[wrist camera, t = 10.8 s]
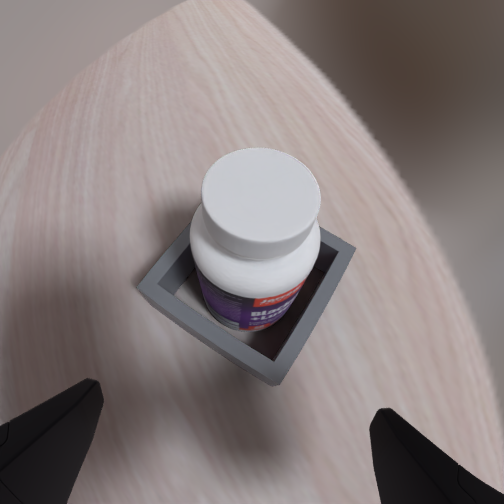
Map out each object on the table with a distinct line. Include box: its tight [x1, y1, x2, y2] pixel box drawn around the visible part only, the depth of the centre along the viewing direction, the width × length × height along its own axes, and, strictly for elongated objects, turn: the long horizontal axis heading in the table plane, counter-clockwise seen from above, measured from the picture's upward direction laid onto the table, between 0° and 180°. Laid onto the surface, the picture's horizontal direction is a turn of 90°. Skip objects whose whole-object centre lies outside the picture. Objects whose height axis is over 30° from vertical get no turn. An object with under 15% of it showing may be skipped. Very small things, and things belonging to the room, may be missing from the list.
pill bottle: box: [190, 147, 321, 332], centre depth 14 cm, size 5×5×10 cm
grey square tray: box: [136, 221, 356, 386], centre depth 17 cm, size 9×9×3 cm
